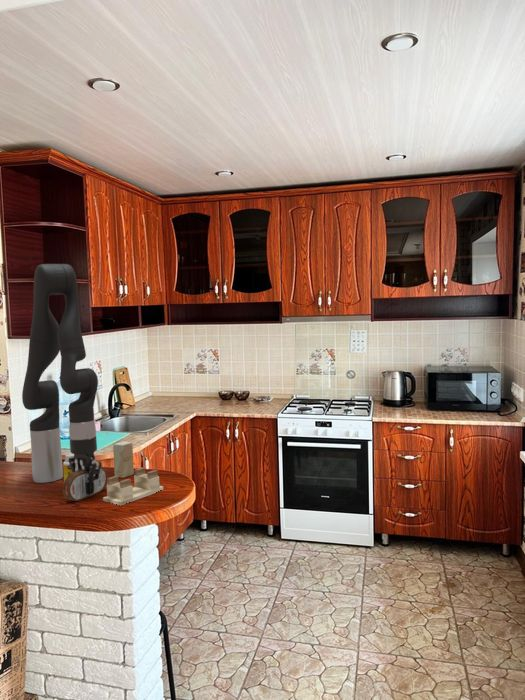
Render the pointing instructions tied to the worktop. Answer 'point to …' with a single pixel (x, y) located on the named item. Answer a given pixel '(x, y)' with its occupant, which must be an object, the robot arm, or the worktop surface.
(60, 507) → the worktop surface
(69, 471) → the supplement bottle
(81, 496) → the tin
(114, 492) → the cradle
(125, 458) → the box
